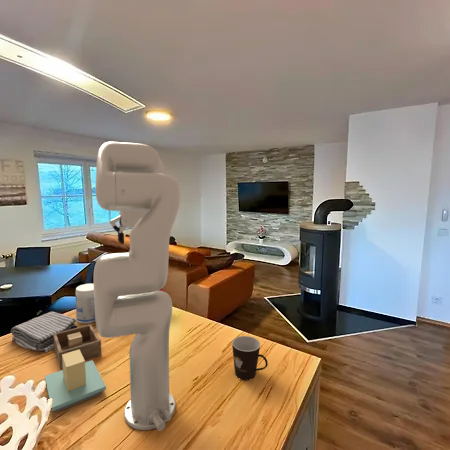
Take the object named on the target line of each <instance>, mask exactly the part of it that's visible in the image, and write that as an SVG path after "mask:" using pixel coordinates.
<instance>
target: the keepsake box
mask: <svg viewBox="0 0 450 450" xmlns="http://www.w3.org/2000/svg"><path fill="white" fill-rule="evenodd" d="M77 332H80V333H81V335H82V345H80V346H77V347H74V348H70V349H69V348H68V343H67V335H69V334H73V333H77ZM53 340H54V349H53V350H54V353H55V356H56V359H57V363H58V365H59V368H60V370H63V364H62V355H63V354H66V353H69V352H72V351H76V350H79V349H80V351H81V354H82V356H83V358H84V360H85V362H87V361H88V360H89V361H90V360H93V359H95V358H98V357H100V356H102V340H101V339H100V337H99V334H98V333H97V331H95V328H94V327H93V326H92V324H91V323H89V324H86V325H82V326H78V327H77V328H74V329H70V330H66V331H62V332H59V333H55V334H53Z"/></svg>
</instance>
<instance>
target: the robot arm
mask: <svg viewBox="0 0 450 450" xmlns="http://www.w3.org/2000/svg"><path fill="white" fill-rule="evenodd" d="M95 167H96V169H95V171H96V173H95V197H96V201H97V204H98V205H99V207H100V208H101V209H103V210H105V211H109V212H110V211H111V212H116V211H117V212H119V214H118V216H116V217H114V218H112V219H111V220H109V224H110V225H111V227H112V229H114V231H115V232H116V233H117V242H119V244H122V245H124V244H125V232H124V231H125V229H127V228H129V229H130V228H132V229H131V230H130V233H129V251H128V252H127V251H126V252H115V253H107V254H104V255H101V256H100V257H99V258H98V259H97V260H96V262H95V265H94V269H93V284H94V304H95V328H96V332H97V334H98V336H100V337H101V338H116V337H122V336H124V337H125V336H129V335H134V334H135V336H134V338H133V340H132V341H131V343H130V346H129V355H128V356H129V382H130V383H129V386H130V399H129V400H128V402H127V403H126V405H125V408H124V413H123V415H124V420H125V422H126V424H128V426H129V427H131V428H133V429H135V430H140V431H150V430H154V429H157V431H158V432H161V431H164V429H165V428H166V423H167V422H169V421H171V419H172V417H173V415H174V413H175V411H176V399H175V397H174V396H173V395H172V393H171V392H170V346H169V345H170V328H171V322H172V316H173V301H172V298H171V296H170V295H169V294H168V293H167V292H165V291H164V292H163V291H159V290H160V289H162V288H163V289H164V287H165V285H166V284H167V281H168V276H169V258H170V257H169V256H170V255H169V253H170V238H171V233H172V229H173V227H174V224H175V221H176V219H177V215H178V211H179V207H180V201H181V190H180V189H181V188H180V184H179V182H178V180H177V179H176V177H175V178H174V177H173V176H171V175H169V174H165V173H164V172H165V171H164V169H165V168H164V163H163V161H162V159H161V158H160V154H159V153H158V151H157V150H156V149H155V148H154V147H152V146H150V145H149V144H144V143H137V142H136V143H134V142H124V141H123V142H122V141H121V142H119V141H107V142H106V141H105V142H104V143H103V144H102V145H101V146H100V148H99V149H98V152H97V156H96V166H95ZM117 222H119V223H118V224H119V225H118V226H117V224H116V223H117ZM123 232H124V233H123Z"/></svg>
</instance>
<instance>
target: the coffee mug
mask: <svg viewBox="0 0 450 450" xmlns="http://www.w3.org/2000/svg"><path fill="white" fill-rule="evenodd" d="M231 347H232V357H233V367H234V374H235V377H236V376H237V377H236V378H237V379H239V378H240V379H239V380H241V379H242V381H251V380H253V379H254V378H255V377H256V374H257V372H258V371H263V370H265V369H266V368H267V367H268V365H269V363H268V359H267V358H266V356H264V355H263V354H262V353H261V354H260V350H261V342H260V341H259V339H257V338H255V337H254V336H248V335H241V336H237V337H235V338H234V339H233V340H232V342H231ZM259 357H260V358H262V359H263V360H264V363H265V365H264V366H263V367H259V368H258V363H259V361H258V360H259ZM250 379H251V380H250Z"/></svg>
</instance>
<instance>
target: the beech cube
mask: <svg viewBox="0 0 450 450" xmlns="http://www.w3.org/2000/svg"><path fill="white" fill-rule="evenodd" d="M67 343H68V348H69V349H70V348H74V347H77V346H80V345H82V335H81V333H80V332H77V333H73V334H69V335H67Z"/></svg>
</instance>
